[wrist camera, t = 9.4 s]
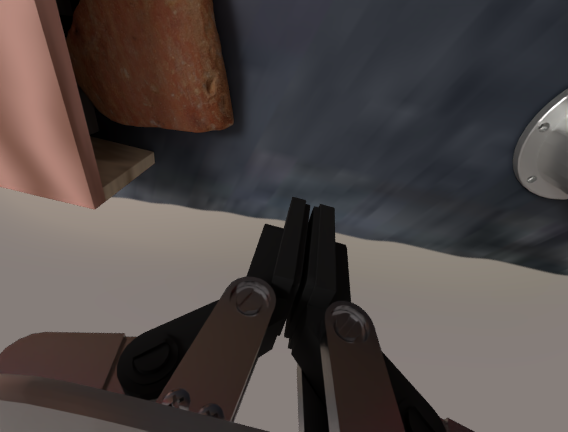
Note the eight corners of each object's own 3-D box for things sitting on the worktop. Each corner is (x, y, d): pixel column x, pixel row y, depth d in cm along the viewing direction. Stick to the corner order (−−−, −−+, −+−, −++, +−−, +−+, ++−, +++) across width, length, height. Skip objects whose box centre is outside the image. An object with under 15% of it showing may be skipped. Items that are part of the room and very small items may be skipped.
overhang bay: (129, -84, 20) (-17, -174, 11) (154, 163, 32) (94, 209, 23) (0, -119, 19) (-252, -239, 11) (75, 143, 32) (-14, 183, 23)
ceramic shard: (-27, -74, 17) (194, -92, 17) (49, -35, 23) (214, -48, 23) (71, 146, 24) (230, 134, 24) (111, 134, 30) (239, 124, 30)
